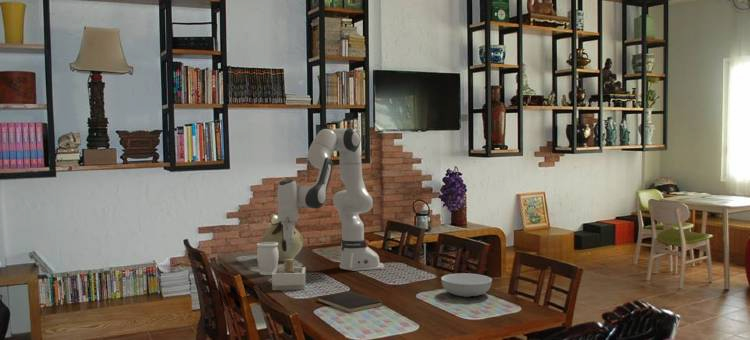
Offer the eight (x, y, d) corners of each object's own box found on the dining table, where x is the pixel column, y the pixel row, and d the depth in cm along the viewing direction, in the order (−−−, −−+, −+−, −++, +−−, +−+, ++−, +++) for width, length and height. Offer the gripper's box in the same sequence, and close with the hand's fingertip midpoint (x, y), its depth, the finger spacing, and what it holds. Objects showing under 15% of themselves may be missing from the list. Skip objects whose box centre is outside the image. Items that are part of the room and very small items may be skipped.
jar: (274, 276, 313) (273, 245, 312) (254, 275, 315) (253, 244, 314) (281, 271, 324) (281, 241, 323) (262, 271, 326) (261, 241, 325)
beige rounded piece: (282, 254, 372) (281, 210, 370) (313, 258, 358) (312, 213, 356) (253, 261, 354) (252, 215, 352) (285, 265, 340) (284, 218, 338)
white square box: (305, 282, 300) (305, 267, 299) (304, 289, 286) (304, 273, 285) (274, 283, 299) (274, 267, 298) (272, 290, 285) (271, 274, 285)
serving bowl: (460, 303, 259) (460, 286, 259) (431, 292, 278) (431, 276, 277) (502, 296, 269) (502, 280, 268) (472, 286, 287) (471, 271, 287)
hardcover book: (349, 314, 247) (349, 308, 247) (317, 302, 266) (317, 296, 265) (383, 307, 257) (383, 301, 257) (349, 296, 275) (349, 290, 275)
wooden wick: (293, 281, 293) (293, 258, 293) (293, 282, 291) (293, 259, 291) (284, 281, 293) (284, 259, 293) (284, 282, 291) (284, 259, 291)
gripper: (294, 219, 281) (295, 251, 282) (296, 213, 301) (297, 242, 302) (279, 219, 280) (280, 251, 281) (282, 213, 300) (283, 243, 301)
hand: (289, 247), depth 292 cm, fingers open, 8 cm apart
